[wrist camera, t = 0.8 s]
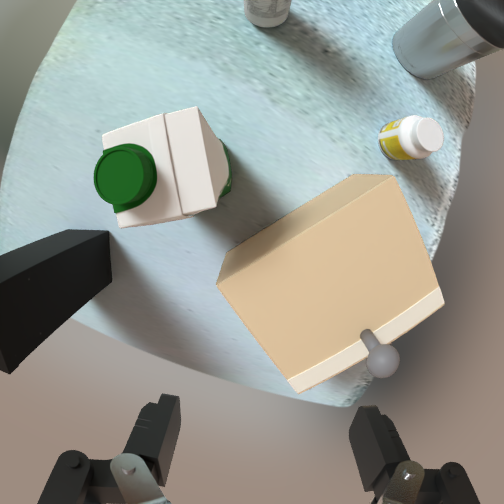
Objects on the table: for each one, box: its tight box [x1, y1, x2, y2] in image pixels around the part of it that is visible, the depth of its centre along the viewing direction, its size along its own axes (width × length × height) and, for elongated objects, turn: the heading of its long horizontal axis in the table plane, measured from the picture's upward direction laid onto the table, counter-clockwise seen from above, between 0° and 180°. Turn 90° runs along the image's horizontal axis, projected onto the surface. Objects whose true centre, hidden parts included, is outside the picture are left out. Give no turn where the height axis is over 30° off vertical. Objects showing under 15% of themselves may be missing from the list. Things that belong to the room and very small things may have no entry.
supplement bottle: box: [378, 115, 444, 160], centre depth 31 cm, size 5×5×10 cm
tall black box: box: [0, 229, 112, 374], centre depth 27 cm, size 8×8×28 cm
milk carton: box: [94, 106, 232, 228], centre depth 28 cm, size 9×9×20 cm
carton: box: [216, 174, 392, 285], centre depth 35 cm, size 20×16×12 cm
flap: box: [217, 176, 444, 394], centre depth 25 cm, size 20×16×7 cm
